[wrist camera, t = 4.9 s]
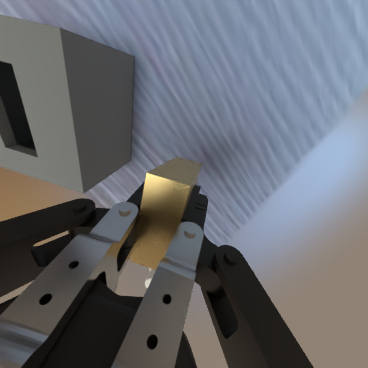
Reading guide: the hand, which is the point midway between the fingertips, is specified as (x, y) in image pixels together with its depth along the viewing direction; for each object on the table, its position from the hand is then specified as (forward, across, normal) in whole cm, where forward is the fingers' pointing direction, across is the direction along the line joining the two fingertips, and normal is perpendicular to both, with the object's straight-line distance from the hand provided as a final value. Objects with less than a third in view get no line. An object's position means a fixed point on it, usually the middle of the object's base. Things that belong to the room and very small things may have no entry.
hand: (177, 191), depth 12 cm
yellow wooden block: (+2, 0, +1) cm, 2 cm away
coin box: (+10, +15, -2) cm, 18 cm away
